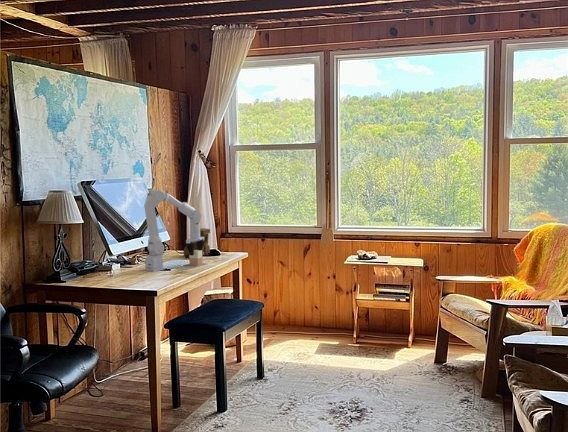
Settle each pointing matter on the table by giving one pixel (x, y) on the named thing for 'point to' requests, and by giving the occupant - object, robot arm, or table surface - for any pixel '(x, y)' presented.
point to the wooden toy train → (203, 233)
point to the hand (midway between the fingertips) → (195, 254)
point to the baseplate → (185, 267)
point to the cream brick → (196, 254)
